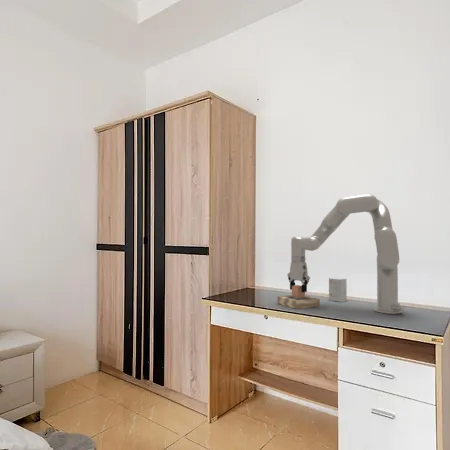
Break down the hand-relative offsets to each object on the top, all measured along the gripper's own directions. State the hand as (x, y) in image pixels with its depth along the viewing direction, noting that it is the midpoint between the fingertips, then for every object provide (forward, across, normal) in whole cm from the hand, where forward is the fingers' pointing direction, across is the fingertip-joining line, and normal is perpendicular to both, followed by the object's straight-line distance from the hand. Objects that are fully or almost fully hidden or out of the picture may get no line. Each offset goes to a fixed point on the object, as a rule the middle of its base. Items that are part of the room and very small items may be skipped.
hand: (298, 290), depth 198 cm
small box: (+8, -1, -29) cm, 30 cm away
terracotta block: (+3, 0, 0) cm, 3 cm away
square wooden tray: (+8, 0, 0) cm, 8 cm away
